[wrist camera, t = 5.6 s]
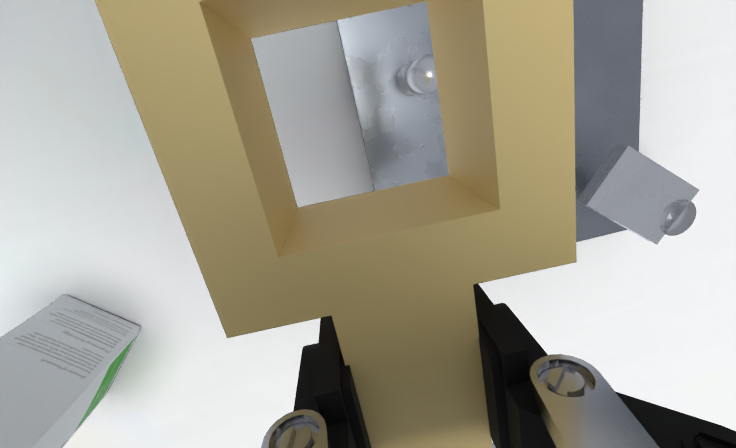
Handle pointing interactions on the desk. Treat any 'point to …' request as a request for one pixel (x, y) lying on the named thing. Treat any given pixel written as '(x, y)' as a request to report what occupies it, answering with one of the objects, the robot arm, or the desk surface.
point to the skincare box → (58, 371)
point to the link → (368, 210)
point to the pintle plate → (592, 115)
